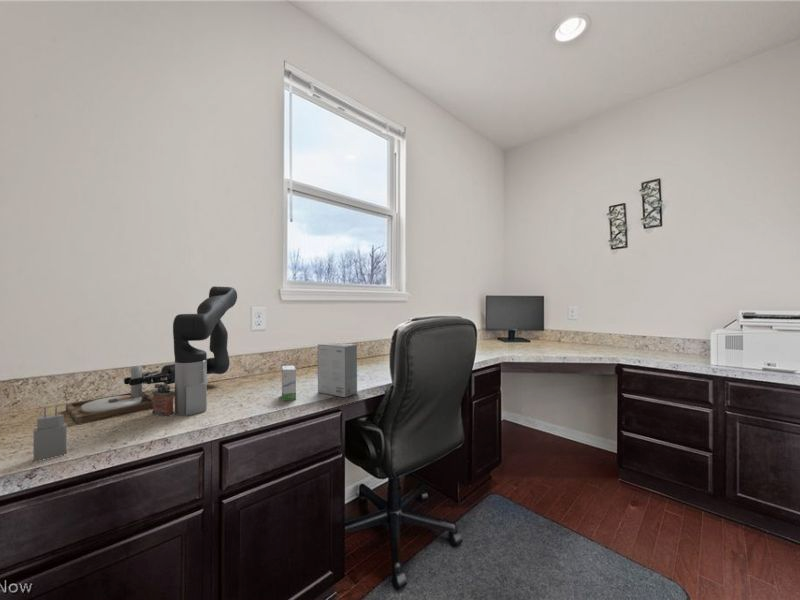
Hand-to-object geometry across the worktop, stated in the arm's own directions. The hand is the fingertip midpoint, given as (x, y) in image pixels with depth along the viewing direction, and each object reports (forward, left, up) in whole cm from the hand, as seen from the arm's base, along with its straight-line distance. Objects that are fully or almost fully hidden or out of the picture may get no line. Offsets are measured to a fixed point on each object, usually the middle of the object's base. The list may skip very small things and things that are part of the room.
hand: (127, 382), depth 119 cm
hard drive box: (-47, -58, -9) cm, 75 cm away
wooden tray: (-1, +4, -8) cm, 9 cm away
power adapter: (-35, +22, -9) cm, 42 cm away
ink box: (-37, -42, -9) cm, 56 cm away
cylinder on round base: (-1, +4, -7) cm, 8 cm away
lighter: (-21, -5, -9) cm, 23 cm away
